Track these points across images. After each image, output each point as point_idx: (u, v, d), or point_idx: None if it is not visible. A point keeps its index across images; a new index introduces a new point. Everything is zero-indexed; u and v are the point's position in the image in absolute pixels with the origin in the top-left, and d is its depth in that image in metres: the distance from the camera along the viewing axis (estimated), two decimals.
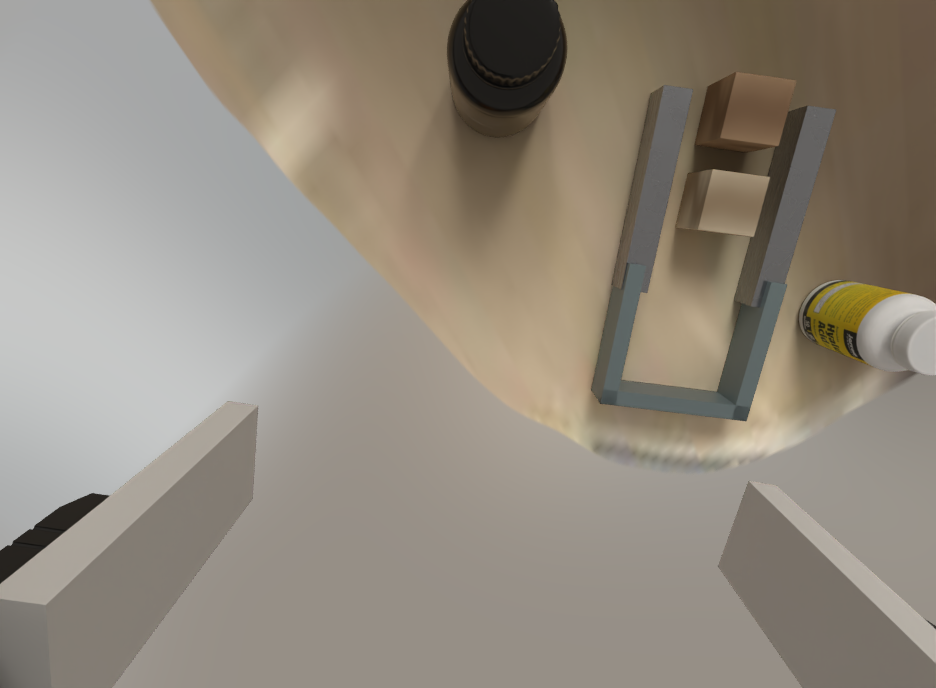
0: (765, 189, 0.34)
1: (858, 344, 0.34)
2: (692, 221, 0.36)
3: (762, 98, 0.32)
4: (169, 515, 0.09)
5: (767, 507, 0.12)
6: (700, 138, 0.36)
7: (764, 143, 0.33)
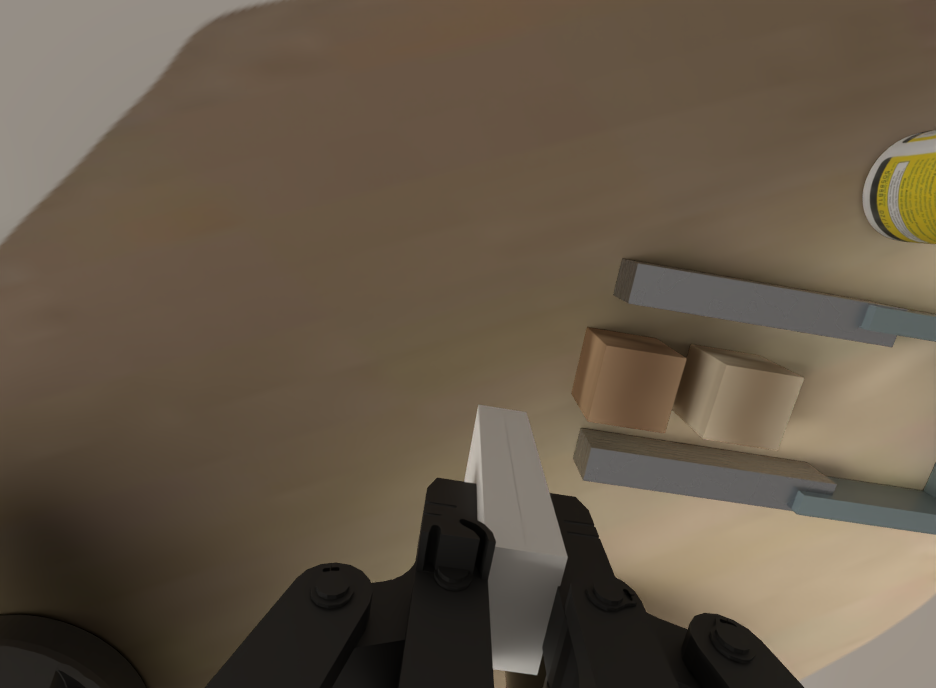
0: (742, 369, 0.24)
1: None
2: None
3: (623, 386, 0.24)
4: None
5: None
6: None
7: (679, 376, 0.24)
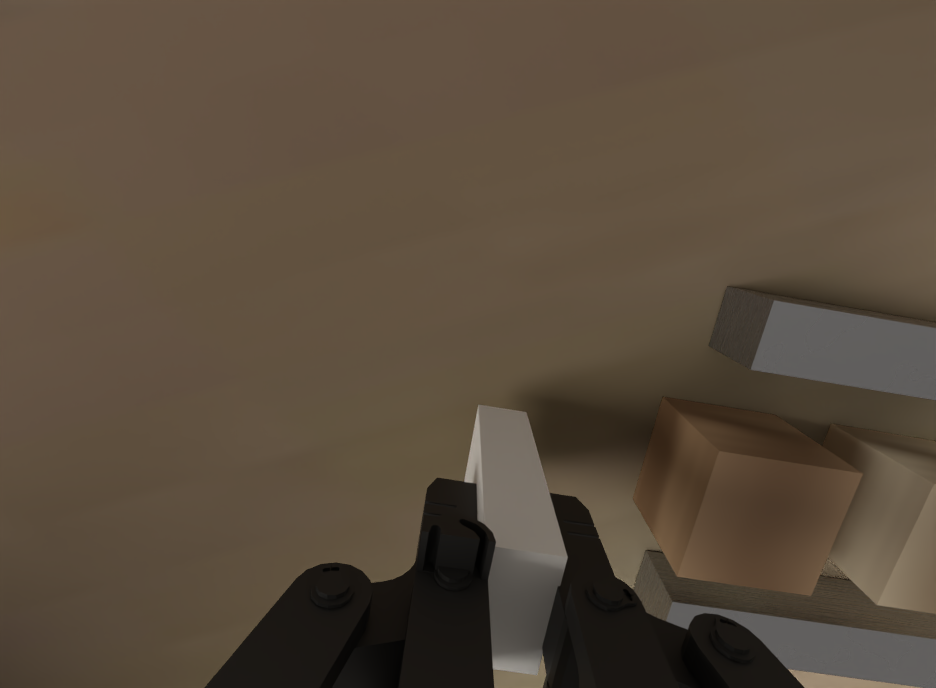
0: None
1: None
2: None
3: (743, 519, 0.14)
4: None
5: None
6: None
7: (846, 502, 0.14)
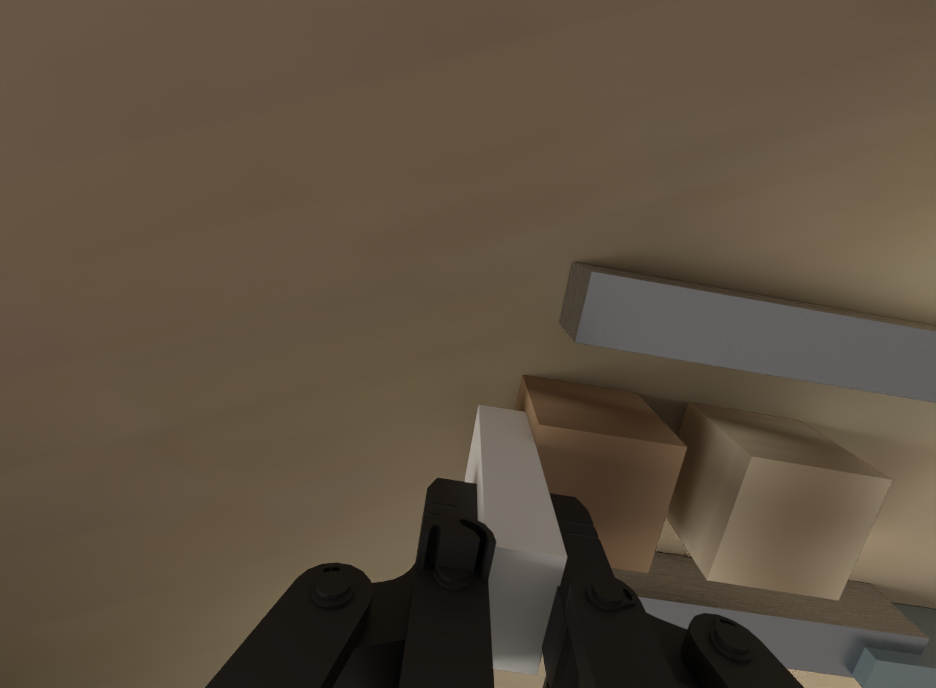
0: (780, 464, 0.13)
1: None
2: None
3: (571, 495, 0.13)
4: None
5: None
6: None
7: (674, 476, 0.13)
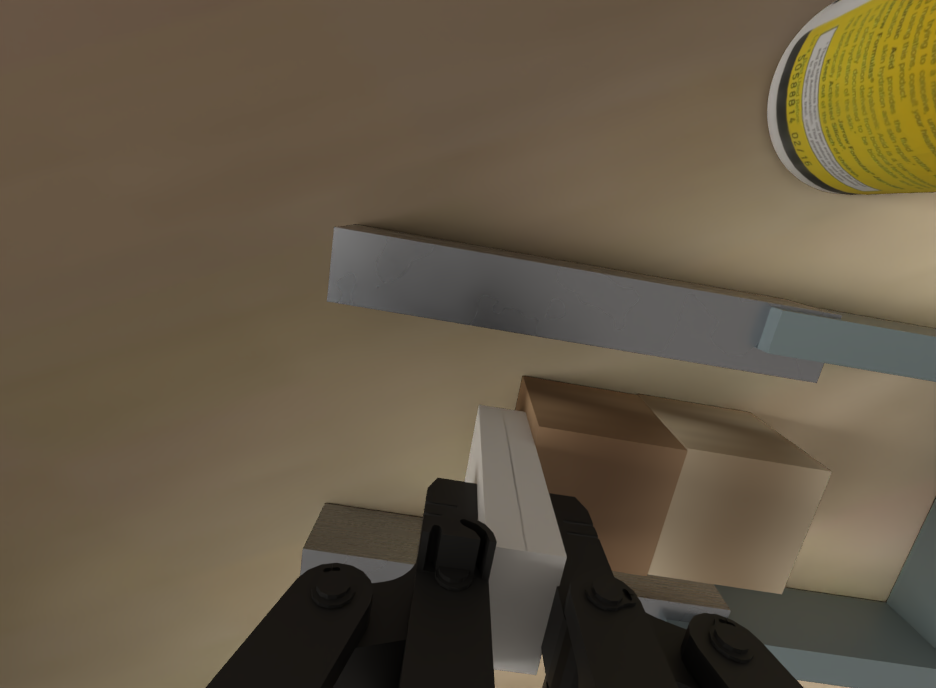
0: (717, 456, 0.13)
1: None
2: None
3: None
4: None
5: None
6: None
7: (674, 480, 0.13)
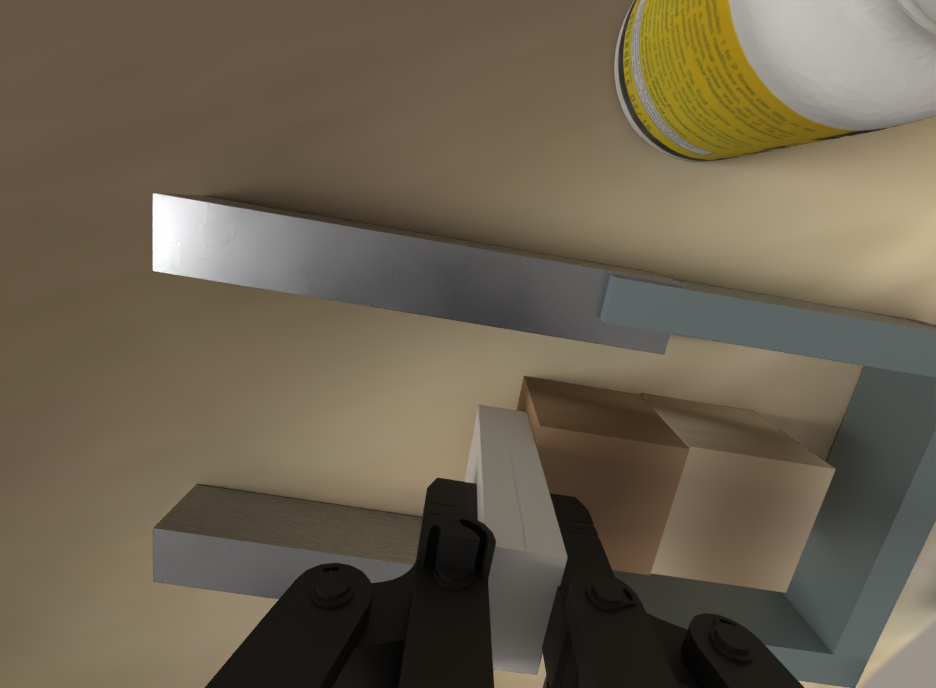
0: (719, 454, 0.13)
1: (911, 121, 0.08)
2: None
3: None
4: None
5: None
6: None
7: (677, 478, 0.13)
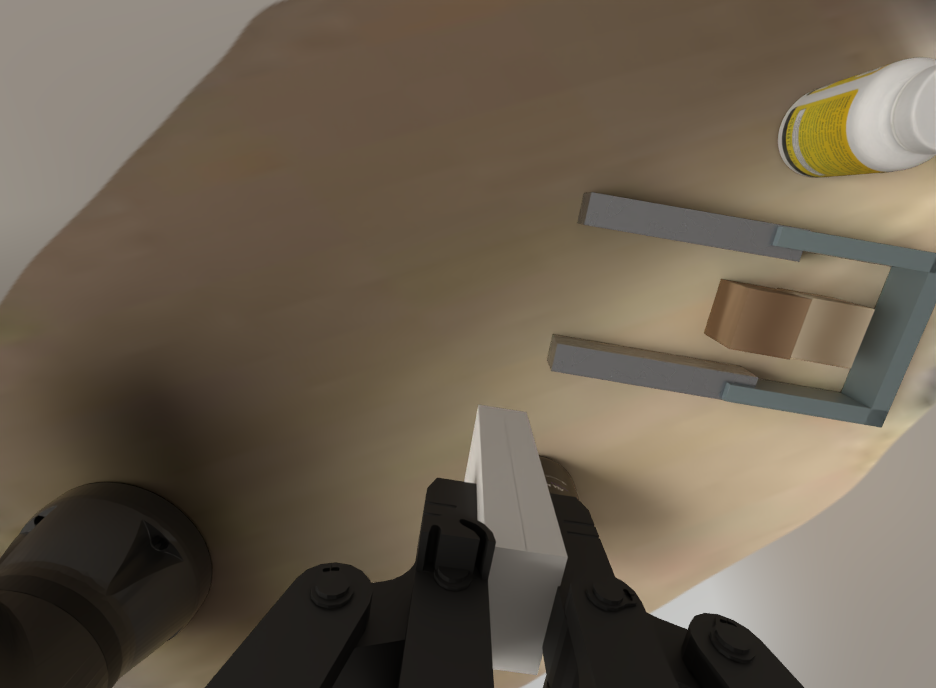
0: (825, 301, 0.31)
1: (903, 169, 0.26)
2: None
3: (759, 321, 0.31)
4: None
5: None
6: None
7: (805, 313, 0.31)
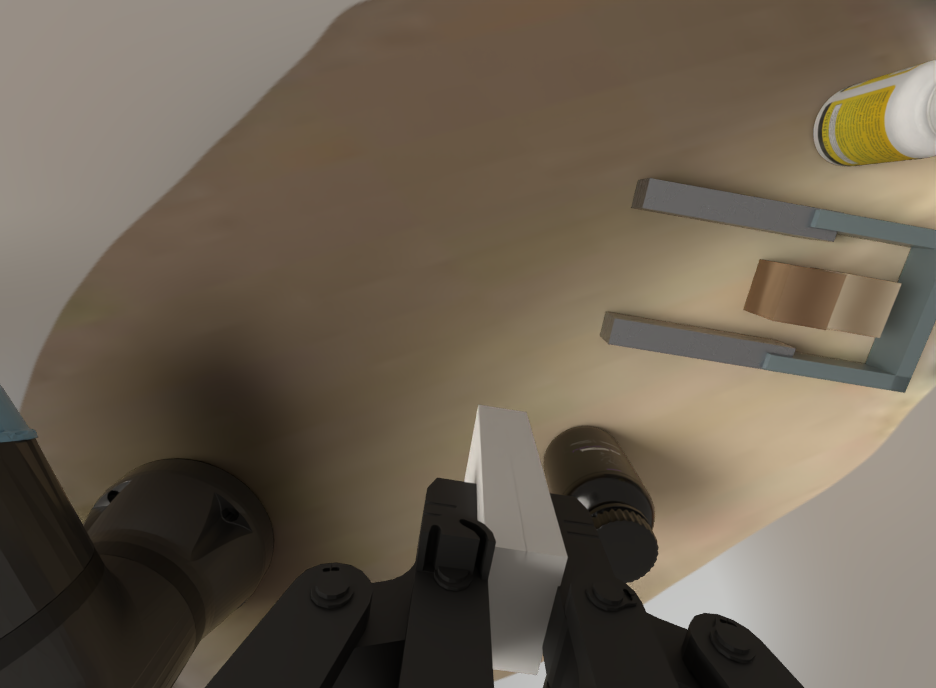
0: (858, 277, 0.34)
1: (933, 156, 0.30)
2: None
3: (800, 295, 0.35)
4: None
5: None
6: None
7: (840, 287, 0.35)
